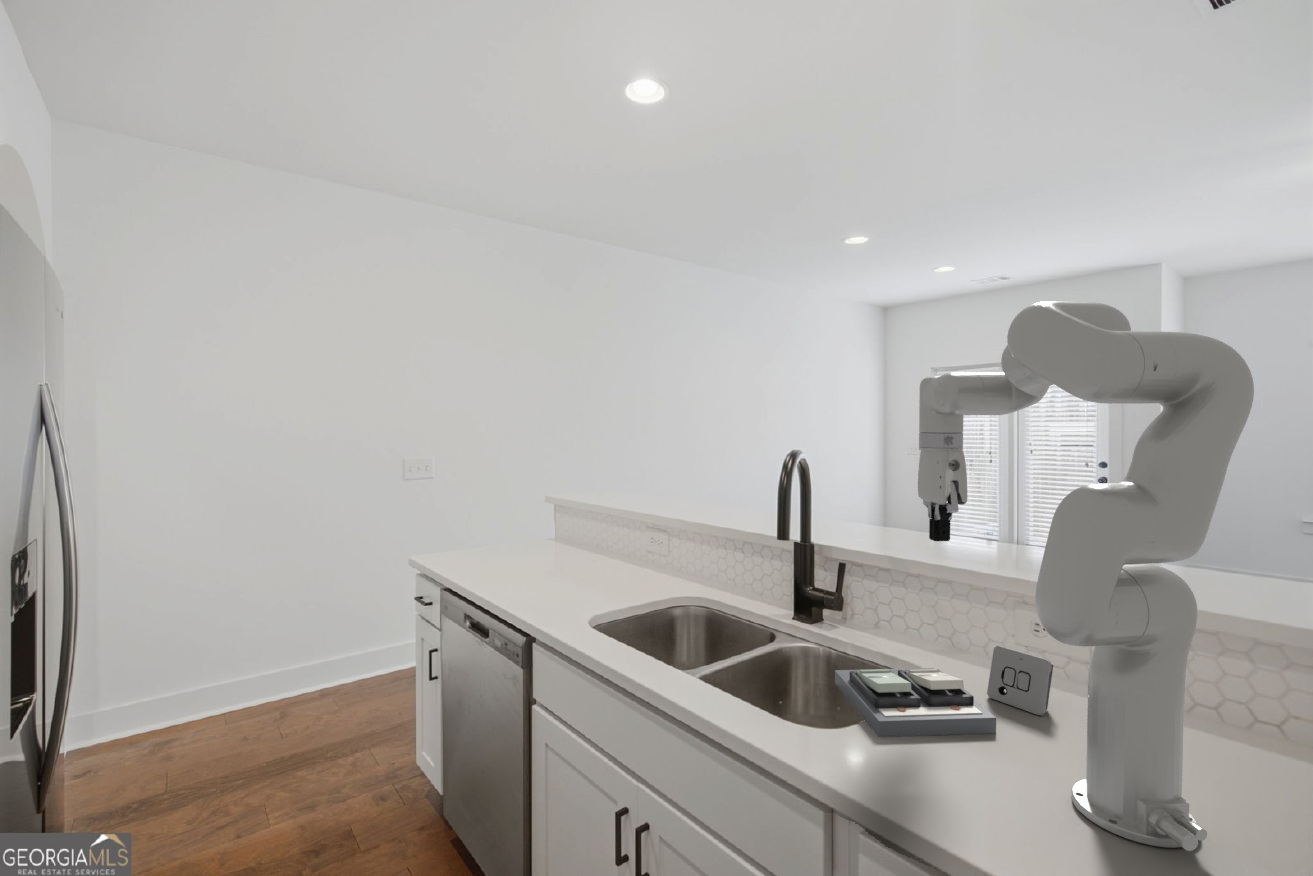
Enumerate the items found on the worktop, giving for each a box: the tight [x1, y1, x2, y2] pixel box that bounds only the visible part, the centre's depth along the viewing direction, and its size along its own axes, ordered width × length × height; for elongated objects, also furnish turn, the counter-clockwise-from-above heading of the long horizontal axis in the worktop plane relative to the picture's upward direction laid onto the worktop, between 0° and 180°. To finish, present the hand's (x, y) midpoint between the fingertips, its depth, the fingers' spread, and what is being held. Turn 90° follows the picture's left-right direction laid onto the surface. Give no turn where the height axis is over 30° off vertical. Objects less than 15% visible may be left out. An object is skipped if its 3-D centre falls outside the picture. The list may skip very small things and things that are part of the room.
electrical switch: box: [986, 645, 1054, 717], centre depth 110 cm, size 9×5×9 cm, turn 35°
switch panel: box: [834, 667, 997, 738], centre depth 108 cm, size 20×19×4 cm
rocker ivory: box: [906, 668, 965, 690], centre depth 109 cm, size 9×6×2 cm, turn 4°
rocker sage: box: [858, 668, 912, 692], centre depth 108 cm, size 9×6×2 cm, turn 4°
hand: (939, 540), depth 117 cm, fingers closed
